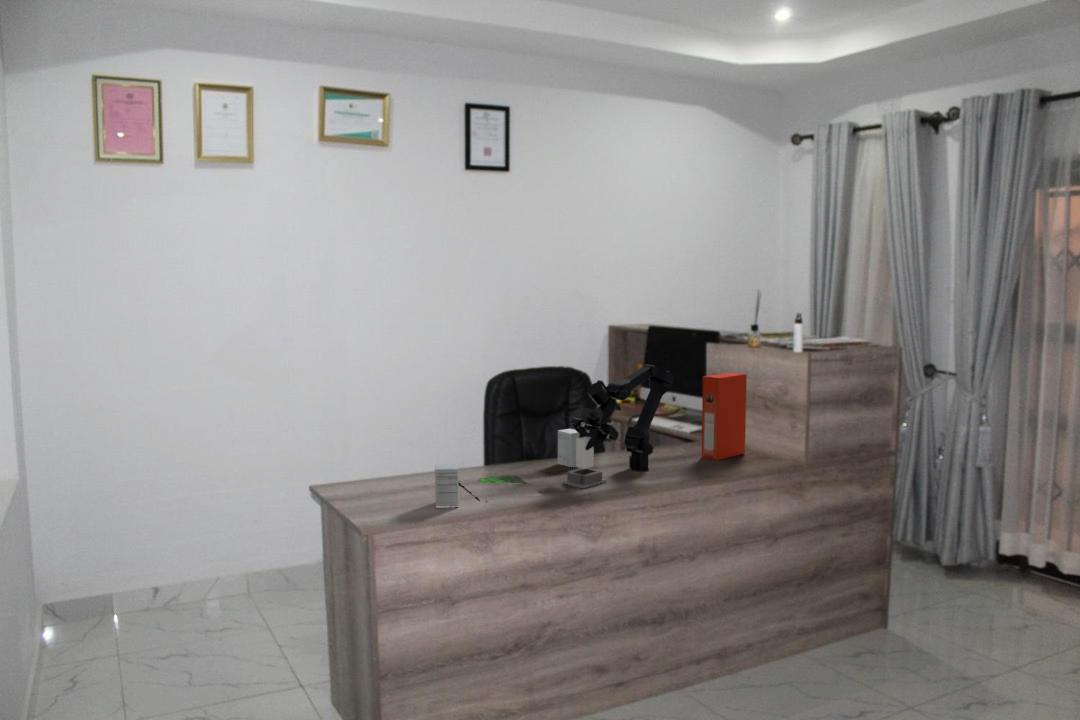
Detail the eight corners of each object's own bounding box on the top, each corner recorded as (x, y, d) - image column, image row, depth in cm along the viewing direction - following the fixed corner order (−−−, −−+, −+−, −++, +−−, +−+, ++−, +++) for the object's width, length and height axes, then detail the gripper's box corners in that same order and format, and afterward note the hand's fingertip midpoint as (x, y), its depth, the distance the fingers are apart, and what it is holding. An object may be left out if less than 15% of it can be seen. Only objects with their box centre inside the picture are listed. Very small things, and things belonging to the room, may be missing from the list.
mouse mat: (545, 496, 283) (545, 493, 283) (481, 504, 275) (481, 500, 275) (515, 477, 308) (515, 474, 308) (456, 483, 300) (456, 480, 300)
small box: (584, 465, 324) (584, 431, 322) (571, 468, 320) (571, 433, 318) (569, 461, 330) (569, 428, 328) (557, 464, 326) (557, 430, 324)
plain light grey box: (586, 464, 301) (586, 436, 300) (593, 466, 298) (593, 437, 297) (576, 467, 297) (576, 438, 296) (583, 468, 295) (583, 440, 294)
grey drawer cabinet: (435, 502, 275) (435, 463, 274) (459, 501, 276) (458, 463, 275) (434, 508, 268) (434, 469, 267) (458, 508, 269) (458, 468, 267)
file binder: (700, 457, 337) (702, 376, 334) (728, 450, 348) (730, 372, 345) (717, 460, 331) (719, 378, 327) (744, 454, 342) (747, 374, 338)
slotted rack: (587, 477, 306) (587, 466, 305) (606, 482, 299) (606, 471, 299) (563, 483, 298) (563, 472, 297) (582, 488, 291) (582, 477, 291)
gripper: (573, 395, 304) (551, 430, 298) (613, 402, 291) (590, 438, 285) (589, 414, 311) (567, 449, 305) (628, 421, 297) (606, 458, 291)
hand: (582, 448), depth 296 cm, fingers closed on plain light grey box, 3 cm apart
